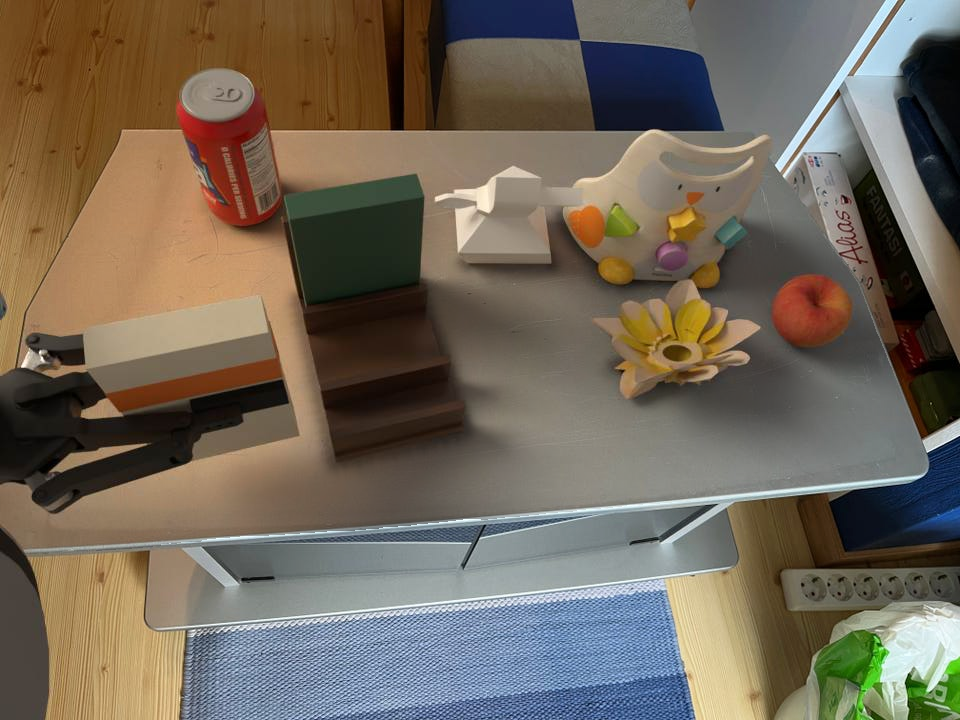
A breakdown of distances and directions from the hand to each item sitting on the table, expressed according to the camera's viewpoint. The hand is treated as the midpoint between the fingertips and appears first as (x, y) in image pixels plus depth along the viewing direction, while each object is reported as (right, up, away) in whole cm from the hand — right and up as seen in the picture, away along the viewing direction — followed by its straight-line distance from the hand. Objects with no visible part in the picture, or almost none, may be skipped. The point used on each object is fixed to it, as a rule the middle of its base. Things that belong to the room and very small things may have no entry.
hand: (280, 369), depth 56 cm
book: (-6, -6, +7) cm, 11 cm away
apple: (+48, +4, +24) cm, 54 cm away
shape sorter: (+34, +13, +27) cm, 45 cm away
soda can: (-10, +18, +24) cm, 32 cm away
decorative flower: (+34, +1, +21) cm, 40 cm away
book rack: (+5, 0, +17) cm, 18 cm away
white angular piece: (+17, +14, +25) cm, 33 cm away
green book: (+3, +7, +19) cm, 20 cm away
